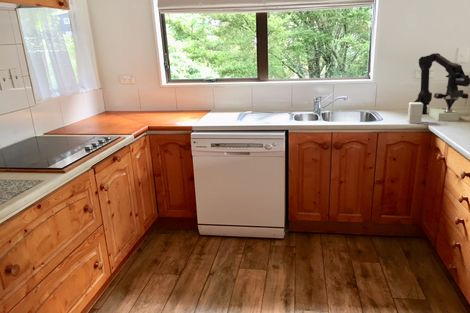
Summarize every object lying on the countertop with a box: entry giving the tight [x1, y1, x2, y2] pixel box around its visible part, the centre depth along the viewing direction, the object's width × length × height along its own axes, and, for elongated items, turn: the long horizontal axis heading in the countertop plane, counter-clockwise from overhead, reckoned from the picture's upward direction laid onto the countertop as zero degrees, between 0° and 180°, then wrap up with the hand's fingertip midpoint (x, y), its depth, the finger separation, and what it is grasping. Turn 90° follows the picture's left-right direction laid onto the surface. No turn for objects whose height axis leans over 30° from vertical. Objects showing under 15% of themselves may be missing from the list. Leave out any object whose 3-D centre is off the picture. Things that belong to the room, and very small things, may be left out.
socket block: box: [428, 107, 460, 122], centre depth 246 cm, size 12×20×5 cm, turn 169°
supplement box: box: [406, 101, 423, 124], centre depth 235 cm, size 7×7×13 cm
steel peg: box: [445, 108, 453, 113], centre depth 239 cm, size 4×4×5 cm
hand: (449, 109), depth 239 cm, fingers closed, pressing on steel peg
